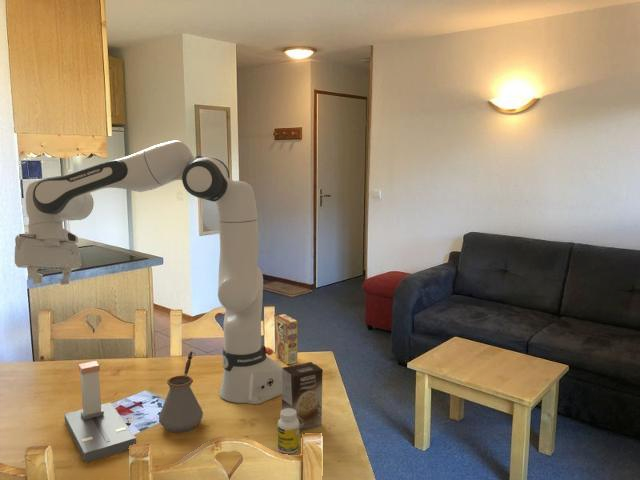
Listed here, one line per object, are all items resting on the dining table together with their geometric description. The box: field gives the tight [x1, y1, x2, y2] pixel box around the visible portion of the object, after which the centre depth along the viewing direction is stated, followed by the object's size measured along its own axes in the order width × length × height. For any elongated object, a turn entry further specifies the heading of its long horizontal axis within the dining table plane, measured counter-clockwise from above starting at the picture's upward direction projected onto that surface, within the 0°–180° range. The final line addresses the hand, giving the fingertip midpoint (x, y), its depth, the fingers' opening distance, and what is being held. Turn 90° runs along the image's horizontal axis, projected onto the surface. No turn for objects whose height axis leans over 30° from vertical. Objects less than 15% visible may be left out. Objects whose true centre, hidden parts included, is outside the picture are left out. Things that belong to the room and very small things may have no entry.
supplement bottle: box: [277, 408, 300, 454], centre depth 135 cm, size 5×5×10 cm
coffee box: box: [281, 361, 324, 432], centre depth 146 cm, size 9×6×16 cm
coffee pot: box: [158, 350, 204, 434], centre depth 150 cm, size 21×12×15 cm, turn 1°
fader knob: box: [78, 360, 104, 420], centre depth 145 cm, size 5×4×14 cm
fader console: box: [64, 401, 137, 464], centre depth 142 cm, size 12×23×3 cm, turn 35°
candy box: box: [274, 313, 298, 365], centre depth 190 cm, size 9×4×15 cm, turn 33°
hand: (51, 284), depth 153 cm, fingers open, 8 cm apart
